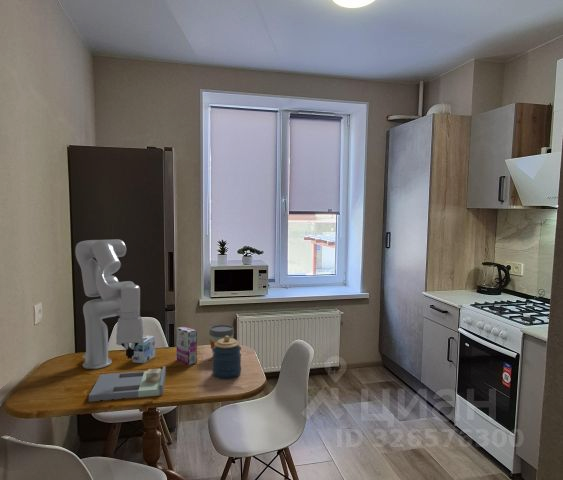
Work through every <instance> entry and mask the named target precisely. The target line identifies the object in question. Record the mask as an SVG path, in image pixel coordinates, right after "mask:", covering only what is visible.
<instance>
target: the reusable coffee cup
mask: <svg viewBox="0 0 563 480" xmlns="http://www.w3.org/2000/svg"><path fill="white" fill-rule="evenodd" d="M234 334H235V329H234V326H232V325H231V324H217V325H213V326H210V328H209V335H210V336H209V337H210V339H209V343H210V349H211V352H212V355H213V354H214V352H213V350H212V349H213V347H214V346H215V345H214V343H215V342H217V341H218V340H219V339H223V338H224V337H225V336H229V337H230V338H233V339H235V338H234Z"/></svg>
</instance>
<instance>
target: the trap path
mask: <svg viewBox="0 0 563 480" xmlns="http://www.w3.org/2000/svg"><path fill="white" fill-rule="evenodd" d="M166 367H167V366H166V365H162V369H161V378H160V381H159V383H146V373H147V371H148V370H142V371H141V370H140V371H139V370H138V371H128V372H127V371H126V372H116V373H115V372H114V373H103V374H100V375H99V377H98V378H97V380H96V382H95V383H94V386H93V388H92V389H91V391H90V392H89V395H88V402H99V401H100V400H103V401H113V400H112V399H114V400H121V399H122V398H125V399H133V398H145V397H156V396H163V394H164V386H165V381H166V374H167V373H166V371H167V368H166ZM110 399H111V400H110ZM122 400H123V399H122Z"/></svg>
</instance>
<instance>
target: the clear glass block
mask: <svg viewBox="0 0 563 480" xmlns="http://www.w3.org/2000/svg"><path fill="white" fill-rule="evenodd" d="M161 370H162V369H161V368H148V369H147V370H146V371H147V373H146V383H159V381H160V378H161Z"/></svg>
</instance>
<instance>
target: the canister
mask: <svg viewBox="0 0 563 480" xmlns="http://www.w3.org/2000/svg"><path fill="white" fill-rule="evenodd" d="M233 338H234V337H233ZM233 338H230V337H229V336H225V337H224V338H223V339H219V340H218V341H217V342H215V343H214V345H215V346H214V347H213V349H211V351H212V350H213V352H214V354H213V353H212V356H211V357H212V375H213V376H214V377H215V378H217V379H222V380H229V379H234V378H237V377H238V376H240V375H241V371H242V365H241V364H242V363H241V361H242V353H241V350H242V347H241V345H240V342H239V341H238V340H237V339H235V338H234V339H233Z"/></svg>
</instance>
